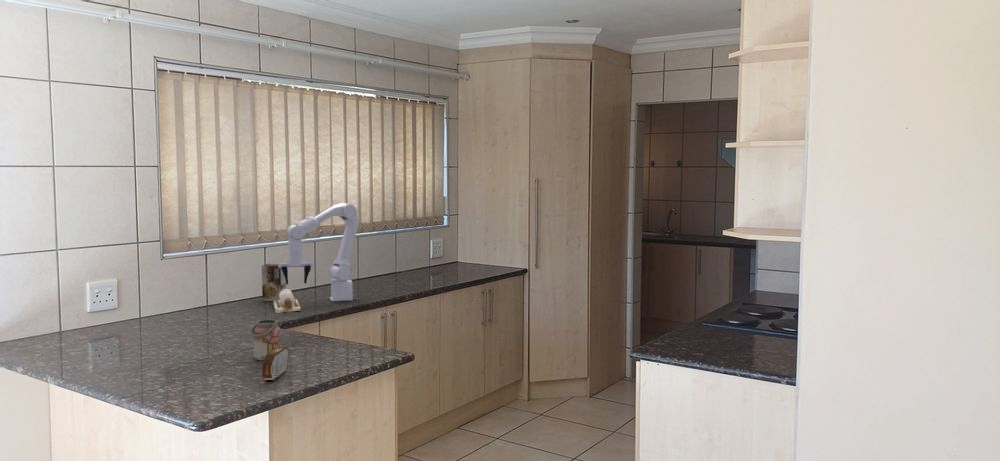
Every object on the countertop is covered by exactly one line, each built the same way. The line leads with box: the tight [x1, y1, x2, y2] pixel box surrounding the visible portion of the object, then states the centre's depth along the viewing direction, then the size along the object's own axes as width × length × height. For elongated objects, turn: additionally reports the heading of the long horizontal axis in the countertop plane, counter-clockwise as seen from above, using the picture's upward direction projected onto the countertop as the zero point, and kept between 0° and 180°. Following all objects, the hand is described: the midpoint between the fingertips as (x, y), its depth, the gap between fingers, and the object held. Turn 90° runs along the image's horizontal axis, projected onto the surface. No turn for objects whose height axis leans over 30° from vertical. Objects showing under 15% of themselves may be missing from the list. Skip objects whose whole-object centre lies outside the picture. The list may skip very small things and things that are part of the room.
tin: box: [261, 345, 290, 379], centre depth 216 cm, size 15×3×8 cm, turn 176°
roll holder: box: [272, 298, 302, 314], centre depth 314 cm, size 10×20×4 cm, turn 20°
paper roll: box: [279, 288, 296, 306], centre depth 314 cm, size 6×13×6 cm, turn 20°
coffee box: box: [261, 263, 287, 302], centre depth 330 cm, size 9×6×16 cm
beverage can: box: [249, 318, 281, 359], centre depth 235 cm, size 9×8×12 cm
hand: (296, 283), depth 320 cm, fingers open, 7 cm apart
